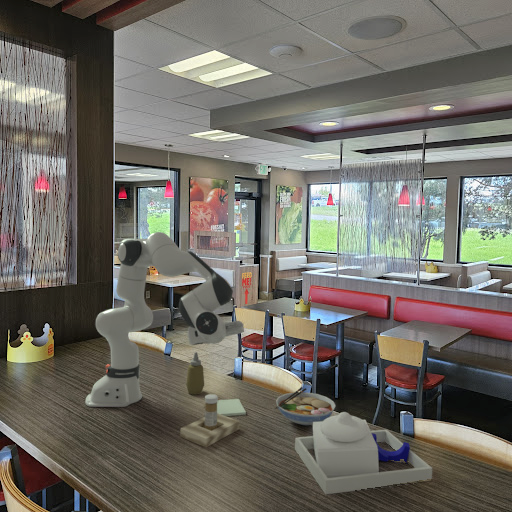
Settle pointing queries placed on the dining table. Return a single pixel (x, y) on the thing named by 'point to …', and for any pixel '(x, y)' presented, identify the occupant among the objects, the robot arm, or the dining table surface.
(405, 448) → the cable clip
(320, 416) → the ramen bowl
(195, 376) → the squeeze bottle
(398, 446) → the grey rectangular tray
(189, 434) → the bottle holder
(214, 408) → the sprinkles bottle
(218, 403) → the pad
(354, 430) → the white block with dome
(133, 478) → the dining table surface
